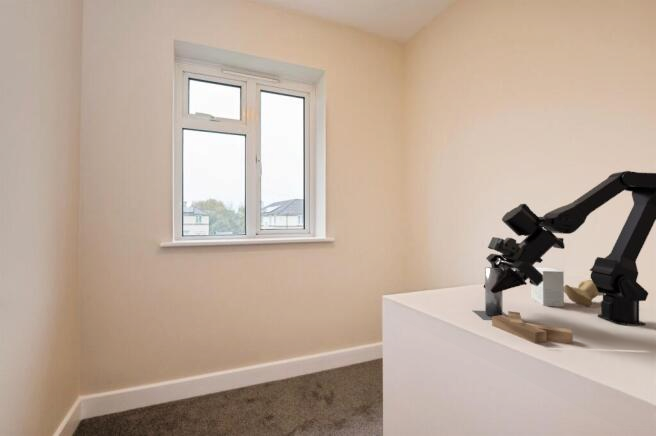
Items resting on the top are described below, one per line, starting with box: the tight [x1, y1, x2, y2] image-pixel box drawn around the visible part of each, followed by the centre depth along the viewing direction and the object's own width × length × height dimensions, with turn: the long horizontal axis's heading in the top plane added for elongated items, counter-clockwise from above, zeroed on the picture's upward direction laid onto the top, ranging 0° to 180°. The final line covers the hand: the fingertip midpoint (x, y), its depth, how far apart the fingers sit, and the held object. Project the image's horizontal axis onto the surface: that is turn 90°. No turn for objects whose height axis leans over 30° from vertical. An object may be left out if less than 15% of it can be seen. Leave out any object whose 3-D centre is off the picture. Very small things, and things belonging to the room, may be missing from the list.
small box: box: [530, 266, 565, 308], centre depth 95 cm, size 8×6×10 cm
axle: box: [484, 266, 503, 316], centre depth 81 cm, size 4×4×12 cm
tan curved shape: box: [564, 279, 605, 307], centre depth 95 cm, size 8×7×12 cm
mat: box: [471, 309, 508, 321], centre depth 81 cm, size 8×8×1 cm
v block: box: [491, 310, 574, 345], centre depth 69 cm, size 9×15×2 cm, turn 17°
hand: (488, 290), depth 81 cm, fingers closed on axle, 4 cm apart
